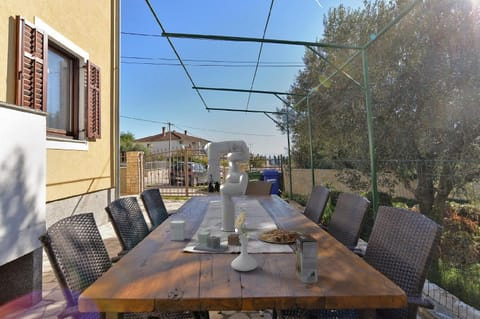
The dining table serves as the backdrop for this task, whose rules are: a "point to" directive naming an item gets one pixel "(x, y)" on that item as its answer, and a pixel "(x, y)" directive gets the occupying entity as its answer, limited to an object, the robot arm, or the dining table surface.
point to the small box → (177, 230)
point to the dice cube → (213, 242)
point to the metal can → (239, 231)
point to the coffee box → (306, 258)
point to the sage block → (203, 237)
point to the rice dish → (279, 236)
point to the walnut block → (233, 239)
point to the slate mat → (204, 248)
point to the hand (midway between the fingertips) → (214, 191)
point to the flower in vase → (243, 248)
